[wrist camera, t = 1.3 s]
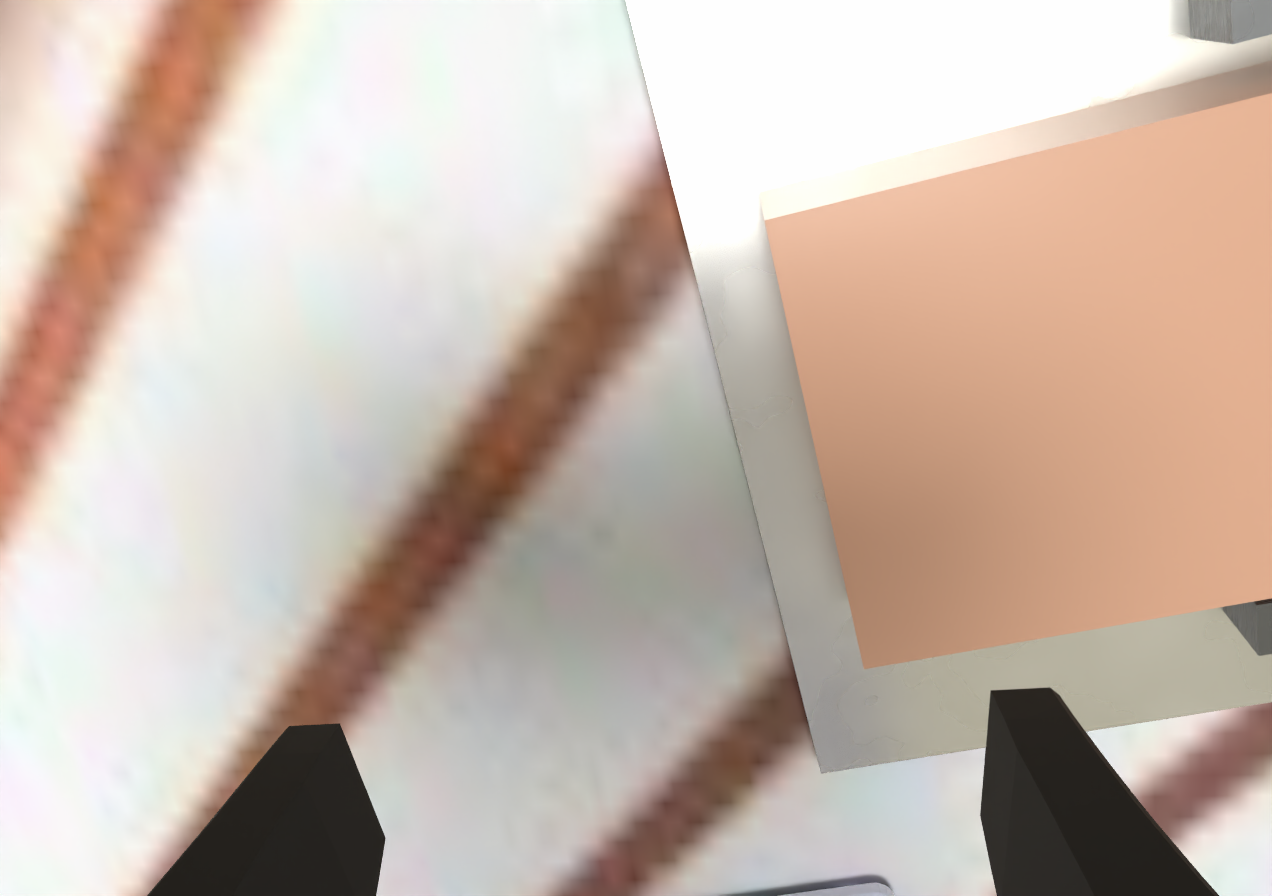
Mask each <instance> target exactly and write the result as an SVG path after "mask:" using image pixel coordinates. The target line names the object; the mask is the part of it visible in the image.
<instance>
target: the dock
mask: <svg viewBox="0 0 1272 896" xmlns="http://www.w3.org/2000/svg"><path fill="white" fill-rule="evenodd" d="M626 4H627V8H628V12H629V16H630V20H631V24H632V27H633V31H634V35H635V39H636V43H637V47H638V51H639V55H640V59H641V63H642V67H643V71H644V75H645V79H646V83H647V87H648V91H649V95H650V99H651V103H652V107H653V111H654V114H655V118H656V122H657V126H658V130H659V134H660V138H661V142H662V146H663V150H664V154H665V158H666V162H667V166H668V170H669V174H670V178H671V182H672V186H673V190H674V194H675V198H676V201H677V205H678V209H679V213H680V217H681V221H682V225H683V229H684V233H685V237H686V241H687V245H688V249H689V253H690V257H691V261H692V265H693V269H694V273H695V277H696V281H697V285H698V288H699V292H700V296H701V300H702V304H703V308H704V312H705V316H706V320H707V324H708V328H709V332H710V336H711V340H712V344H713V348H714V352H715V356H716V360H717V364H718V368H719V372H720V375H721V379H722V383H723V387H724V391H725V395H726V399H727V403H728V407H729V411H730V415H731V419H732V423H733V427H734V431H735V435H736V439H737V443H738V447H739V451H740V455H741V459H742V462H743V466H744V470H745V474H746V478H747V482H748V486H749V490H750V494H751V498H752V502H753V506H754V510H755V514H756V518H757V522H758V526H759V530H760V534H761V538H762V542H763V546H764V549H765V553H766V557H767V561H768V565H769V569H770V573H771V577H772V581H773V585H774V589H775V593H776V597H777V601H778V605H779V609H780V613H781V617H782V621H783V625H784V629H785V633H786V636H787V640H788V644H789V648H790V652H791V656H792V660H793V664H794V668H795V672H796V676H797V680H798V684H799V688H800V692H801V696H802V700H803V704H804V708H805V712H806V716H807V720H808V723H809V727H810V731H811V735H812V739H813V743H814V747H815V751H816V755H817V759H818V763H819V767H820V771H821V773H827V772H833V771H839V770H846V769H852V768H858V767H865V766H871V765H877V764H884V763H890V762H896V761H902V760H909V759H915V758H921V757H928V756H934V755H940V754H947V753H953V752H959V751H966V750H972V749H978V748H985V747H986V740H987V728H988V715H989V703H990V691H991V690H1008V689H1028V688H1048V687H1050V688H1051V689H1053V690H1054V691H1055V692H1056V693H1058V694H1059V695H1060V696H1061V698H1062V699H1063V701H1064V702H1065V704H1066V705H1067V706H1068V708H1069V709H1070V711H1071V712H1072V714H1073V715H1074V716H1075V718H1076V719H1077V721H1078V722H1079V723H1080V725H1081V726H1082V728H1083V729H1084V730H1085V732H1086V731H1092V730H1098V729H1105V728H1111V727H1117V726H1124V725H1130V724H1136V723H1143V722H1149V721H1155V720H1162V719H1168V718H1174V717H1181V716H1187V715H1193V714H1200V713H1206V712H1212V711H1218V710H1225V709H1231V708H1237V707H1244V706H1250V705H1256V704H1263V703H1269V702H1272V598H1271V599H1265V600H1260V601H1254V602H1248V603H1242V604H1237V605H1231V606H1225V607H1219V608H1214V609H1208V610H1202V611H1196V612H1191V613H1185V614H1179V615H1173V616H1168V617H1162V618H1156V619H1150V620H1145V621H1139V622H1133V623H1127V624H1122V625H1116V626H1110V627H1104V628H1099V629H1093V630H1087V631H1081V632H1076V633H1070V634H1064V635H1058V636H1053V637H1047V638H1041V639H1036V640H1030V641H1024V642H1018V643H1013V644H1007V645H1001V646H995V647H990V648H984V649H978V650H972V651H967V652H961V653H955V654H949V655H944V656H938V657H932V658H926V659H921V660H915V661H909V662H903V663H898V664H892V665H886V666H880V667H875V668H869V669H864V668H863V663H862V659H861V654H860V650H859V645H858V641H857V636H856V632H855V627H854V623H853V618H852V614H851V609H850V605H849V600H848V596H847V591H846V587H845V582H844V578H843V573H842V569H841V564H840V560H839V555H838V551H837V546H836V542H835V537H834V533H833V528H832V524H831V519H830V515H829V510H828V506H827V501H826V496H825V492H824V487H823V483H822V478H821V474H820V469H819V465H818V460H817V456H816V451H815V447H814V442H813V438H812V433H811V429H810V424H809V420H808V415H807V411H806V406H805V402H804V397H803V393H802V388H801V384H800V379H799V375H798V370H797V366H796V361H795V357H794V352H793V348H792V343H791V339H790V334H789V330H788V325H787V320H786V316H785V311H784V307H783V302H782V298H781V293H780V289H779V284H778V280H777V275H776V271H775V266H774V262H773V257H772V253H771V248H770V244H769V239H768V235H767V230H766V226H765V221H764V216H763V210H762V205H761V200H760V194H759V192H761V191H765V190H769V189H773V188H777V187H780V186H784V185H788V184H792V183H796V182H800V181H804V180H808V179H812V178H816V177H819V176H823V175H827V174H831V173H835V172H839V171H843V170H847V169H851V168H855V167H858V166H862V165H866V164H870V163H874V162H878V161H882V160H886V159H890V158H894V157H897V156H901V155H905V154H909V153H913V152H917V151H921V150H925V149H929V148H933V147H937V146H940V145H944V144H948V143H952V142H956V141H960V140H964V139H968V138H972V137H976V136H979V135H983V134H987V133H991V132H995V131H999V130H1003V129H1007V128H1011V127H1015V126H1018V125H1022V124H1026V123H1030V122H1034V121H1038V120H1042V119H1046V118H1050V117H1054V116H1057V115H1061V114H1065V113H1069V112H1073V111H1077V110H1081V109H1085V108H1089V107H1093V106H1096V105H1100V104H1104V103H1108V102H1112V101H1116V100H1120V99H1124V98H1128V97H1132V96H1135V95H1139V94H1143V93H1147V92H1151V91H1155V90H1159V89H1163V88H1167V87H1171V86H1174V85H1178V84H1182V83H1186V82H1190V81H1194V80H1198V79H1202V78H1206V77H1210V76H1213V75H1217V74H1221V73H1225V72H1229V71H1233V70H1237V69H1241V68H1245V67H1249V66H1252V65H1256V64H1260V63H1264V62H1268V61H1272V0H626Z"/></svg>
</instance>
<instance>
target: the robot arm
mask: <svg viewBox="0 0 1272 896" xmlns="http://www.w3.org/2000/svg"><path fill="white" fill-rule="evenodd" d="M980 816H981V821H982V826H983V831H984V836H985V841H986V846H987V851H988V856H989V861H990V865H991V870H992V875H993V879H994V884H995V889H996V893H997V896H1219V895H1218V894H1217V893H1216V892H1215V890H1214V889H1213V888H1212V887H1211V886H1210V885H1209V884H1208V883H1207V881H1206V880H1205V879H1204V878H1203V877H1202V876H1201V875H1200V873H1199V872H1198V871H1197V870H1196V869H1195V868H1194V866H1193V865H1192V864H1191V863H1190V862H1189V861H1188V859H1187V858H1186V857H1185V856H1184V855H1183V853H1182V852H1181V851H1180V850H1179V849H1178V848H1177V846H1176V845H1175V844H1174V843H1173V842H1172V841H1171V839H1170V838H1169V837H1168V836H1167V835H1166V833H1165V832H1164V831H1163V830H1162V829H1161V828H1160V826H1159V825H1158V824H1157V823H1156V822H1155V820H1154V819H1153V818H1152V817H1151V816H1150V814H1149V813H1148V812H1147V811H1146V809H1145V808H1144V807H1143V806H1142V804H1141V803H1140V802H1139V801H1138V800H1137V798H1136V797H1135V796H1134V794H1133V793H1132V792H1131V791H1130V789H1129V788H1128V787H1127V786H1126V784H1125V783H1124V782H1123V780H1122V779H1121V778H1120V777H1119V775H1118V774H1117V773H1116V771H1115V770H1114V769H1113V768H1112V766H1111V765H1110V764H1109V762H1108V761H1107V760H1106V758H1105V757H1104V756H1103V755H1102V753H1101V752H1100V751H1099V749H1098V748H1097V747H1096V745H1095V744H1094V743H1093V741H1092V740H1091V738H1090V737H1089V736H1088V734H1087V733H1086V732H1085V730H1084V729H1083V728H1082V726H1081V725H1080V723H1079V722H1078V721H1077V719H1076V718H1075V716H1074V715H1073V714H1072V712H1071V711H1070V709H1069V708H1068V706H1067V705H1066V704H1065V702H1064V701H1063V699H1062V698H1061V696H1060V695H1059V694H1058V693H1056V692H1055V691H1054V690H1053V689H1051V688H1050V687H1048V688H1028V689H1008V690H991V691H990V703H989V715H988V728H987V740H986V752H985V765H984V777H983V789H982V801H981V814H980ZM384 844H385V836H384V833H383V831H382V828H381V826H380V823H379V821H378V818H377V816H376V813H375V811H374V808H373V806H372V803H371V801H370V798H369V796H368V793H367V791H366V788H365V786H364V783H363V781H362V778H361V776H360V773H359V771H358V768H357V766H356V763H355V761H354V758H353V756H352V753H351V751H350V748H349V746H348V743H347V741H346V738H345V736H344V733H343V731H342V728H341V726H340V724H323V725H303V726H289V727H288V728H287V729H286V730H285V731H284V732H283V734H282V735H281V736H280V737H279V738H278V739H277V741H276V742H275V743H274V744H273V745H272V747H271V748H270V749H269V750H268V751H267V753H266V754H265V755H264V756H263V757H262V759H261V760H260V761H259V762H258V763H257V765H256V766H255V767H254V768H253V770H252V771H251V772H250V773H249V774H248V776H247V777H246V778H245V779H244V781H243V782H242V783H241V784H240V785H239V787H238V788H237V789H236V790H235V792H234V793H233V794H232V795H231V796H230V798H229V799H228V800H227V801H226V803H225V804H224V805H223V806H222V807H221V809H220V810H219V811H218V812H217V814H216V815H215V816H214V817H213V818H212V820H211V821H210V822H209V823H208V824H207V826H206V827H205V828H204V829H203V831H202V832H201V833H200V834H199V835H198V837H197V838H196V839H195V840H194V841H193V842H192V844H191V845H190V846H189V847H188V848H187V849H186V851H185V852H184V853H183V854H182V855H181V857H180V858H179V859H178V860H177V861H176V862H175V864H174V865H173V866H172V867H171V868H170V869H169V871H168V872H167V873H166V874H165V875H164V877H163V878H162V879H161V880H160V881H159V882H158V884H157V885H156V886H155V887H154V888H153V889H152V891H151V892H150V893H149V894H148V895H147V896H376V892H377V887H378V881H379V875H380V869H381V862H382V856H383V850H384ZM779 896H894V894H893V892H892V890H891V889H890V888H889V887H887V886H886V885H883V884H880V883H866V884H859V885H851V886H844V887H837V888H830V889H823V890H815V891H808V892H801V893H794V894H787V895H779Z"/></svg>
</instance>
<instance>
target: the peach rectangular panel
mask: <svg viewBox="0 0 1272 896" xmlns="http://www.w3.org/2000/svg"><path fill="white" fill-rule="evenodd" d="M759 194H760V200H761V205H762V210H763V216H764V221H765V226H766V230H767V235H768V239H769V244H770V248H771V253H772V257H773V262H774V266H775V271H776V275H777V280H778V284H779V289H780V293H781V298H782V302H783V307H784V311H785V316H786V320H787V325H788V330H789V334H790V339H791V343H792V348H793V352H794V357H795V361H796V366H797V370H798V375H799V379H800V384H801V388H802V393H803V397H804V402H805V406H806V411H807V415H808V420H809V424H810V429H811V433H812V438H813V442H814V447H815V451H816V456H817V460H818V465H819V469H820V474H821V478H822V483H823V487H824V492H825V496H826V501H827V506H828V510H829V515H830V519H831V524H832V528H833V533H834V537H835V542H836V546H837V551H838V555H839V560H840V564H841V569H842V573H843V578H844V582H845V587H846V591H847V596H848V600H849V605H850V609H851V614H852V618H853V623H854V627H855V632H856V636H857V641H858V645H859V650H860V654H861V659H862V663H863V668H864V669H869V668H875V667H880V666H886V665H892V664H898V663H903V662H909V661H915V660H921V659H926V658H932V657H938V656H944V655H949V654H955V653H961V652H967V651H972V650H978V649H984V648H990V647H995V646H1001V645H1007V644H1013V643H1018V642H1024V641H1030V640H1036V639H1041V638H1047V637H1053V636H1058V635H1064V634H1070V633H1076V632H1081V631H1087V630H1093V629H1099V628H1104V627H1110V626H1116V625H1122V624H1127V623H1133V622H1139V621H1145V620H1150V619H1156V618H1162V617H1168V616H1173V615H1179V614H1185V613H1191V612H1196V611H1202V610H1208V609H1214V608H1219V607H1225V606H1231V605H1237V604H1242V603H1248V602H1254V601H1260V600H1265V599H1271V598H1272V61H1268V62H1264V63H1260V64H1256V65H1252V66H1249V67H1245V68H1241V69H1237V70H1233V71H1229V72H1225V73H1221V74H1217V75H1213V76H1210V77H1206V78H1202V79H1198V80H1194V81H1190V82H1186V83H1182V84H1178V85H1174V86H1171V87H1167V88H1163V89H1159V90H1155V91H1151V92H1147V93H1143V94H1139V95H1135V96H1132V97H1128V98H1124V99H1120V100H1116V101H1112V102H1108V103H1104V104H1100V105H1096V106H1093V107H1089V108H1085V109H1081V110H1077V111H1073V112H1069V113H1065V114H1061V115H1057V116H1054V117H1050V118H1046V119H1042V120H1038V121H1034V122H1030V123H1026V124H1022V125H1018V126H1015V127H1011V128H1007V129H1003V130H999V131H995V132H991V133H987V134H983V135H979V136H976V137H972V138H968V139H964V140H960V141H956V142H952V143H948V144H944V145H940V146H937V147H933V148H929V149H925V150H921V151H917V152H913V153H909V154H905V155H901V156H897V157H894V158H890V159H886V160H882V161H878V162H874V163H870V164H866V165H862V166H858V167H855V168H851V169H847V170H843V171H839V172H835V173H831V174H827V175H823V176H819V177H816V178H812V179H808V180H804V181H800V182H796V183H792V184H788V185H784V186H780V187H777V188H773V189H769V190H765V191H761V192H759Z"/></svg>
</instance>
